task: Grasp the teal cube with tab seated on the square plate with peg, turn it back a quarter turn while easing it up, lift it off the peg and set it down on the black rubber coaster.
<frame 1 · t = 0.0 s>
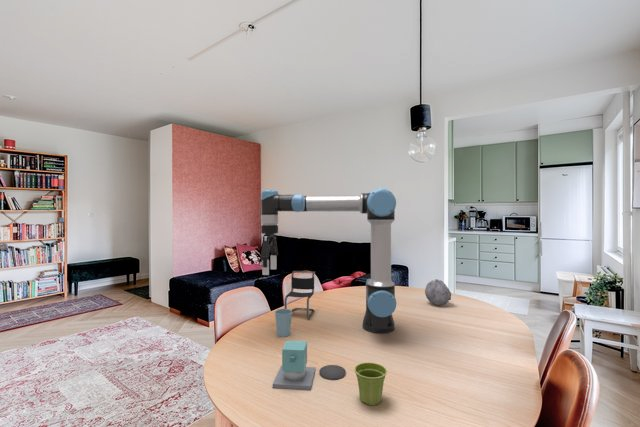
hand: (269, 272, 142), 28 cm above the table, fingers open, 13 cm apart
plant pot: (370, 399, 92), on the table
cup: (283, 335, 142), on the table
teal cube with tab: (295, 366, 104), point 4 cm above the table, touching square plate with peg
decorative orb: (437, 305, 187), on the table
chair: (300, 315, 169), on the table
square plate with peg: (295, 378, 104), on the table
coaster: (332, 373, 107), on the table
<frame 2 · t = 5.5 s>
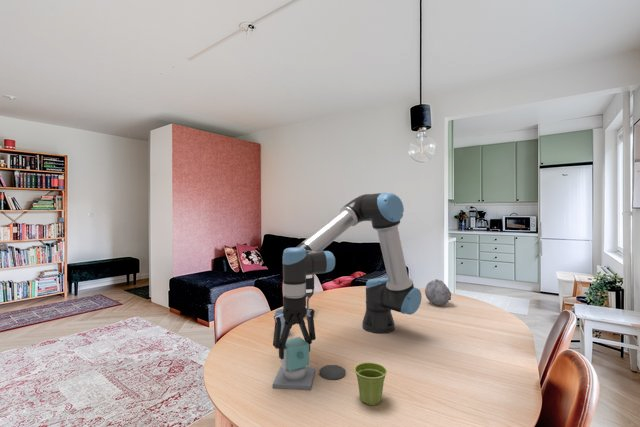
hand: (294, 364, 104), 4 cm above the table, fingers closed on teal cube with tab, 7 cm apart
teal cube with tab: (294, 363, 104), point 5 cm above the table, touching gripper
everything else where it was.
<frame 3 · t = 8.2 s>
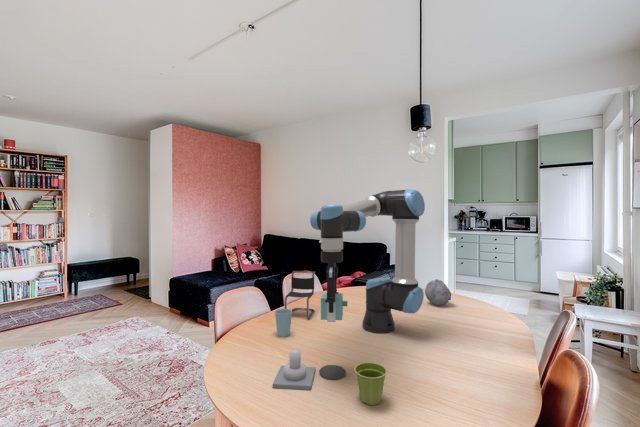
hand: (332, 317, 107), 19 cm above the table, fingers closed on teal cube with tab, 7 cm apart
teal cube with tab: (332, 316, 107), point 19 cm above the table, touching gripper
everything else where it was.
when the fingers open (2 cm above the table, at t = 11.6 s): teal cube with tab drops 2 cm, resting on coaster.
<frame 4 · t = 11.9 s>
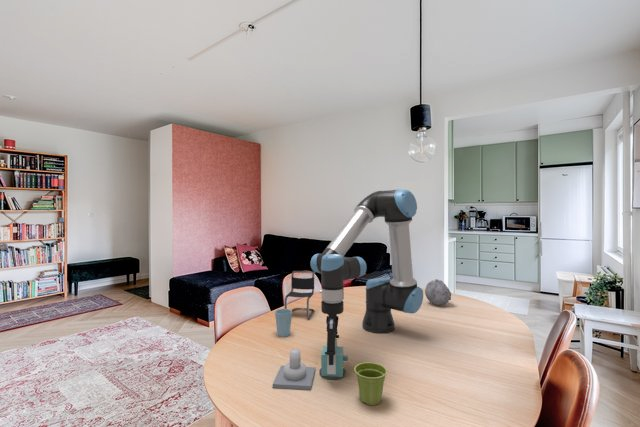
hand: (332, 365, 107), 3 cm above the table, fingers open, 11 cm apart
teal cube with tab: (332, 371, 107), point 1 cm above the table, touching coaster
everything else where it was.
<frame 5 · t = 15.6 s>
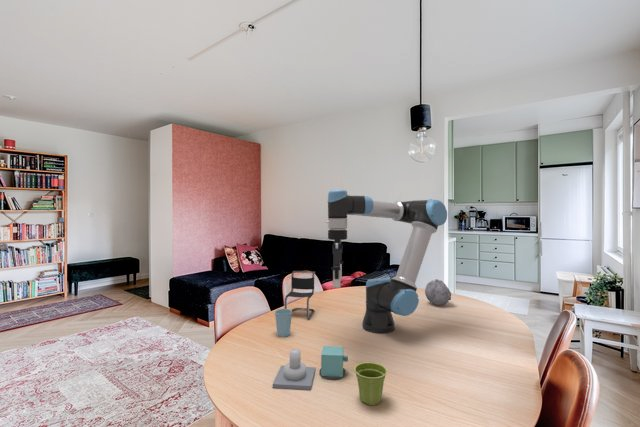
hand: (337, 283, 124), 27 cm above the table, fingers open, 13 cm apart
nothing on the table moved.
at the end: teal cube with tab inside the target area on the coaster (0.1 cm from its centre), point 0.6 cm above the coaster's base; teal cube with tab tilted 0°; the gripper is holding nothing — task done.
